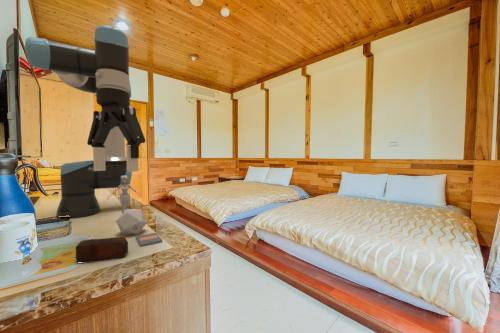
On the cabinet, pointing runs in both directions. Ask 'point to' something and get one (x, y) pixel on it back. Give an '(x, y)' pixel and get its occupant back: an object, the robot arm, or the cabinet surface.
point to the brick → (101, 249)
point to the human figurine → (124, 192)
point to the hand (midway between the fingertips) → (115, 171)
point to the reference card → (148, 239)
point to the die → (131, 221)
